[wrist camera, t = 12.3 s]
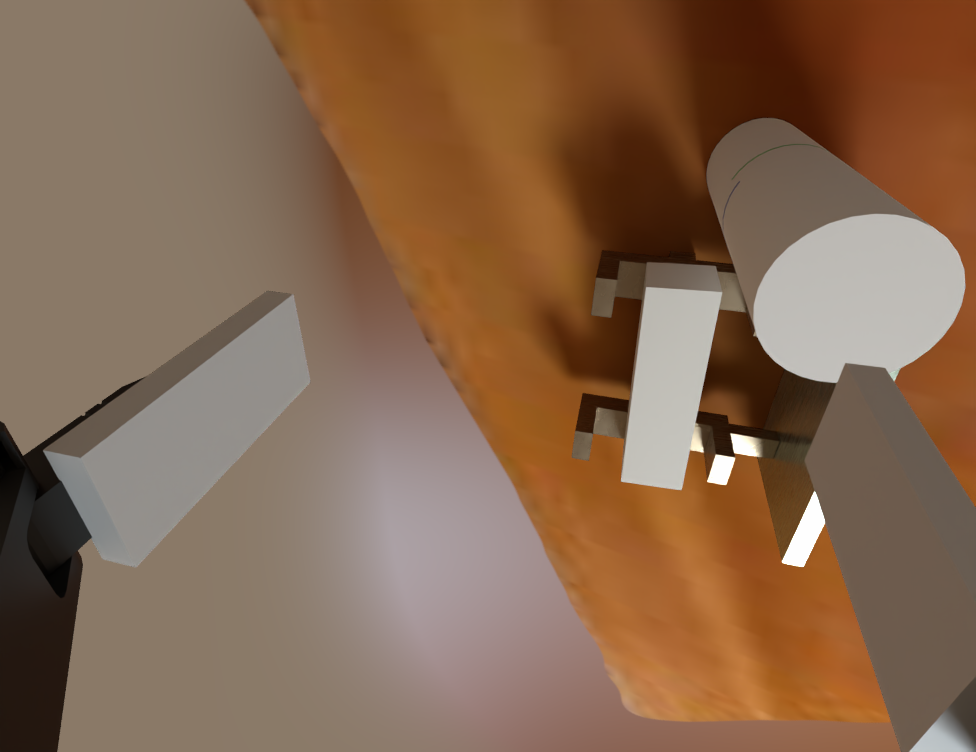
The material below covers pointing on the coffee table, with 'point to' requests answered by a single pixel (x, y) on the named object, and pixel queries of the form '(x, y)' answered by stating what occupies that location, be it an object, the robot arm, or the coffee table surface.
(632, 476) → the rail
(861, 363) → the cylindrical container
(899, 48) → the coffee table surface
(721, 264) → the cup bracket
